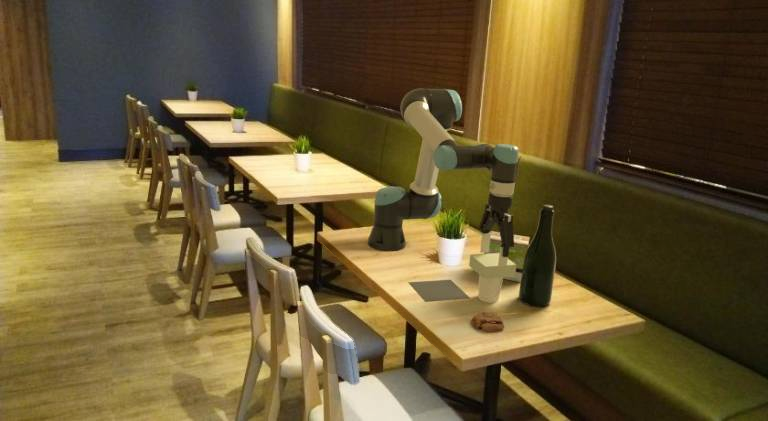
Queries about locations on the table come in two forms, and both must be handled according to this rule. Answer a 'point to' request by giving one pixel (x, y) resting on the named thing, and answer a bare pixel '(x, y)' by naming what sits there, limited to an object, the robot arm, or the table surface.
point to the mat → (438, 290)
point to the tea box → (511, 252)
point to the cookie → (488, 322)
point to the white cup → (489, 289)
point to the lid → (491, 266)
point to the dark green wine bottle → (539, 263)
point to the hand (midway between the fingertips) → (493, 258)
